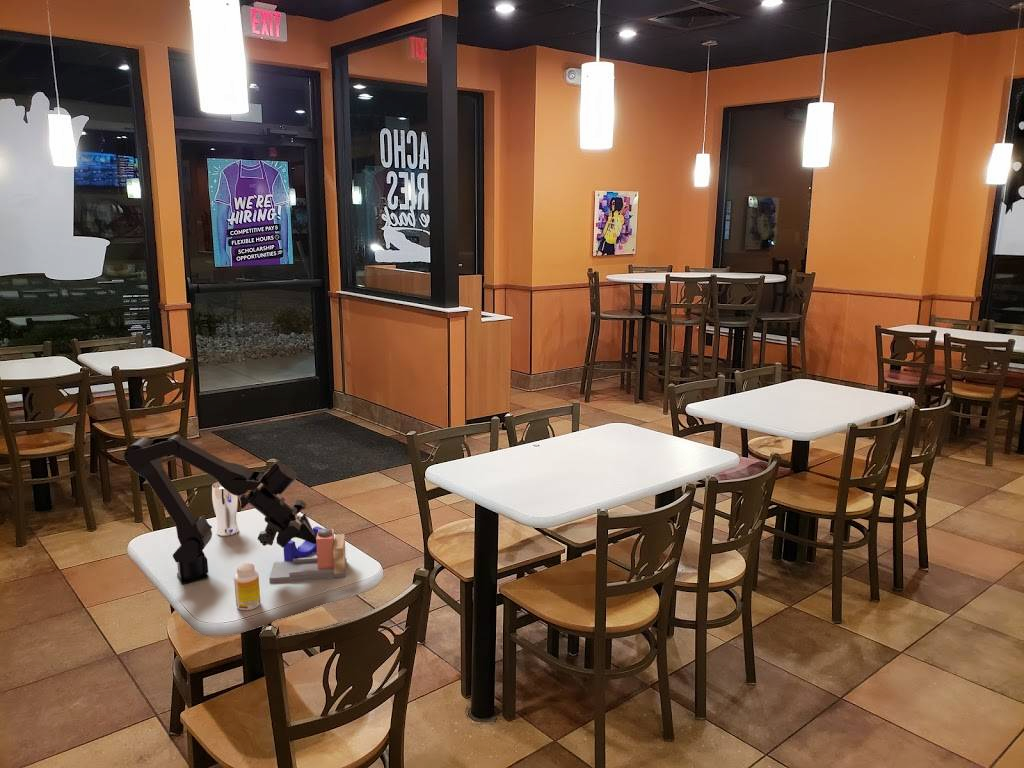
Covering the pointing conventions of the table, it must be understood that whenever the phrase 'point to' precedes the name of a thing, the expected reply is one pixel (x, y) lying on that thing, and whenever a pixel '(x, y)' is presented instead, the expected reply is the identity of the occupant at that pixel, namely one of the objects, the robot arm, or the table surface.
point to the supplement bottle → (247, 587)
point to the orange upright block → (325, 548)
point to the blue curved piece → (300, 548)
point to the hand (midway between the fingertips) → (316, 542)
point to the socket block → (339, 553)
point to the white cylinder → (225, 510)
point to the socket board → (301, 570)
